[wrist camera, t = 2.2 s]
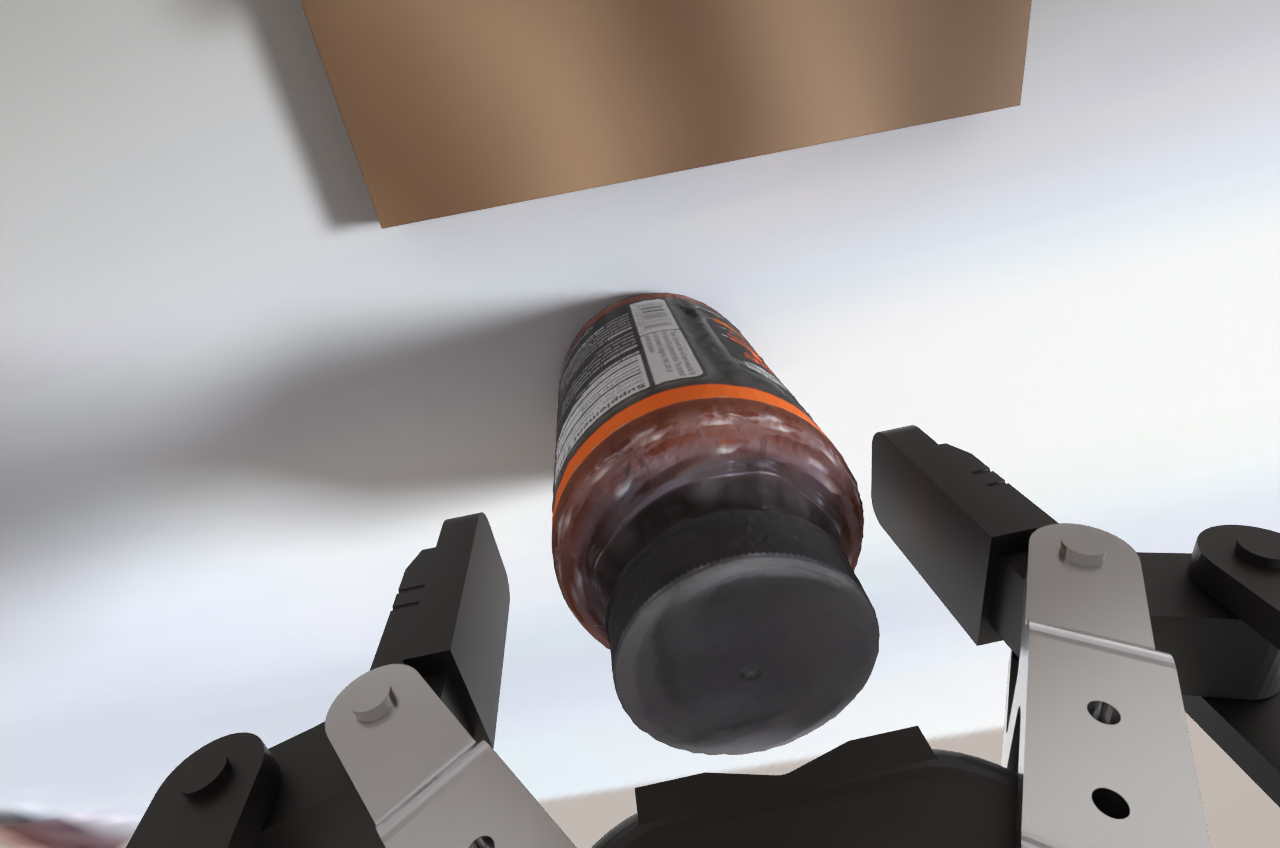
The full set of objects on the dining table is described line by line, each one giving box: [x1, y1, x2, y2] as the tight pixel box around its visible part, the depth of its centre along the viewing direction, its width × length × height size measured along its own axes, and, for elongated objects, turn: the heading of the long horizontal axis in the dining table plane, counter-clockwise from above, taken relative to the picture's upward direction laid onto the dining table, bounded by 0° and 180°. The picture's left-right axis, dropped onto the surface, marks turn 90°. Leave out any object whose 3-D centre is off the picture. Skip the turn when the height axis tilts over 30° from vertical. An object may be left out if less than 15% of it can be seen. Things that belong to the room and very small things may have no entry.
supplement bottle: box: [552, 293, 879, 755], centre depth 14 cm, size 6×6×11 cm
